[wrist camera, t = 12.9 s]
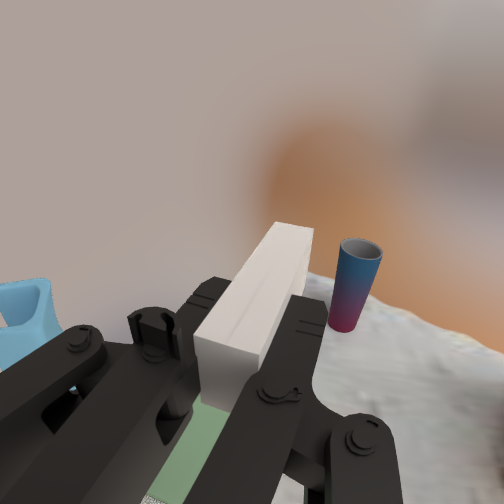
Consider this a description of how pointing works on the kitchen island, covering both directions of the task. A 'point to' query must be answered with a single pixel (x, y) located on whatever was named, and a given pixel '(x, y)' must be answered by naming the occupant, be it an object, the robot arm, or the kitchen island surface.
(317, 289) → the kitchen island surface
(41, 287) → the vase
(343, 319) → the cup
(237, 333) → the robot arm
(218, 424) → the mat
